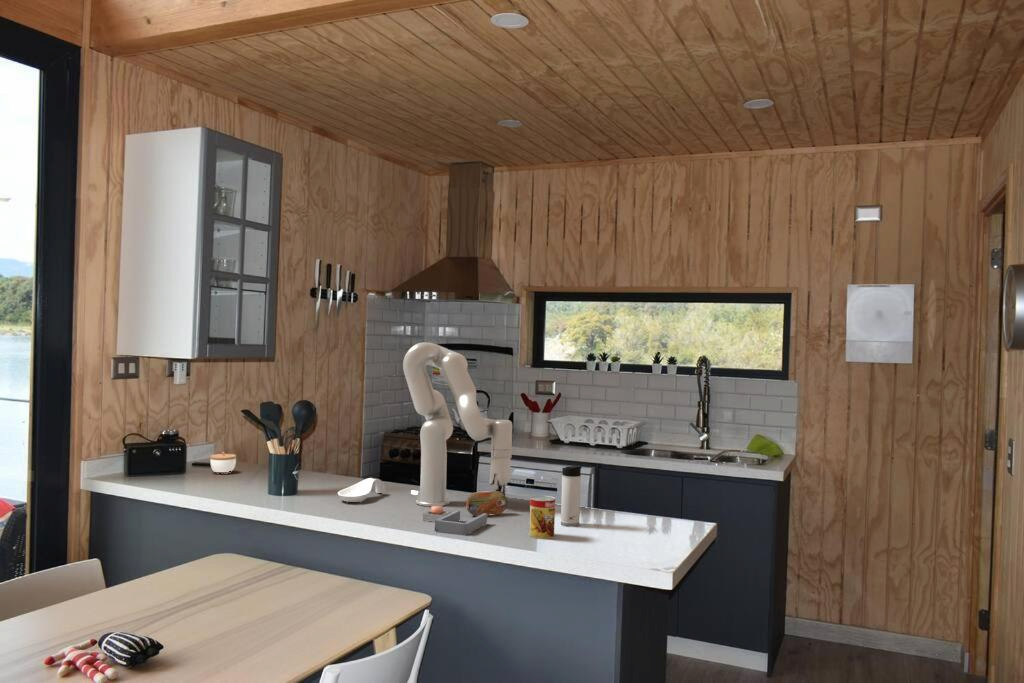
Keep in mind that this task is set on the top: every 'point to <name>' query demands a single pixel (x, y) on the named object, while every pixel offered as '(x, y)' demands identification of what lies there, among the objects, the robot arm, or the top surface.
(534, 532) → the canned food
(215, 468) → the lidded jar
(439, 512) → the button
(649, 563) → the top surface
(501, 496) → the tin
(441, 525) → the bay
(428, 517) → the switch box
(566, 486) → the travel mug
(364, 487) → the spoon rest
